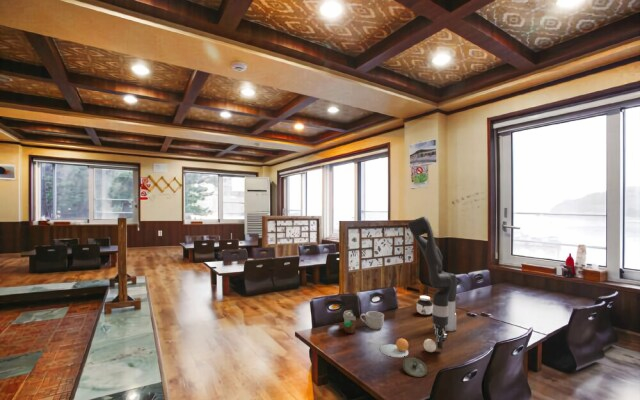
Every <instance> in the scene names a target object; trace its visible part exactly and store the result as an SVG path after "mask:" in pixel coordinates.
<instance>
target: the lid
mask: <svg viewBox="0 0 640 400" xmlns="http://www.w3.org/2000/svg"><path fill="white" fill-rule="evenodd" d="M401 366H402V369H403V371H404V372H405V373H406V374H407V375H409V376H411V377H414V378H422V377H424V376H425V375H427V372H428V366H427V364H426V363H425V362H424V361H422V360H421V359H419V358H417V357H412V356H411V357H410V356H409V357H406V358H404V359H403V360H402V363H401Z"/></svg>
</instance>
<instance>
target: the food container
mask: <svg viewBox="0 0 640 400" xmlns="http://www.w3.org/2000/svg"><path fill="white" fill-rule="evenodd" d="M342 317H343V319H344V321H343V323H344V332H345V333H347V334H353V335H356V322H357V317H356V316H355V315H354V313H353V309H349V310H345V311H344V312H343V315H342Z"/></svg>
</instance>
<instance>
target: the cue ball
mask: <svg viewBox="0 0 640 400" xmlns="http://www.w3.org/2000/svg"><path fill="white" fill-rule="evenodd" d="M423 347H424V350H425V351H426V352H428V353H433V352H435V351H436V349H437V342H435V340H433V339H431V338H426V339H425V340H424V341H423Z"/></svg>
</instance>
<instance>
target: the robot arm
mask: <svg viewBox="0 0 640 400" xmlns="http://www.w3.org/2000/svg"><path fill="white" fill-rule="evenodd" d="M408 229H409V231H410V232H411V234H412V236H413V238H414V239H415V241H416V242H417V244H418V246H419V248H420V250H421V252H422V254H423V256H424V258H425V261H426V265H427V267H428V278H429V283H430V285H431V286H432V288H434V289H439V290H438V291H435V292H434V293H433V295H432V296H433V297H432V304H433V308H432V314H431V315H432V317H431V321H432V323H433V324H434V325H432V328H433V333H434V338H436V339H435V340H436V349H438V350H443V343H445V342H446V340H447V338H448V334H447V333H446V332H454V331H457V316H458V315H457V313H456V297H457V293H458V292H457V289H458V288H457V286H458V277H457V275H456V274H454V273H452V272H445V271H444V270H443V267H444V266H443V254H442V253H441V250H440V248H439V246H437V244H436V240H435V237H434V233H433V229H432V226H431V223H430V221H429V219H428V218H427V216H420V217H418V218H415V219H413V220H410V221H409V222H408ZM425 234H426V236H427V237H426V238H427V239H425V238H424V237H423V236H422V235H425Z"/></svg>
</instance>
